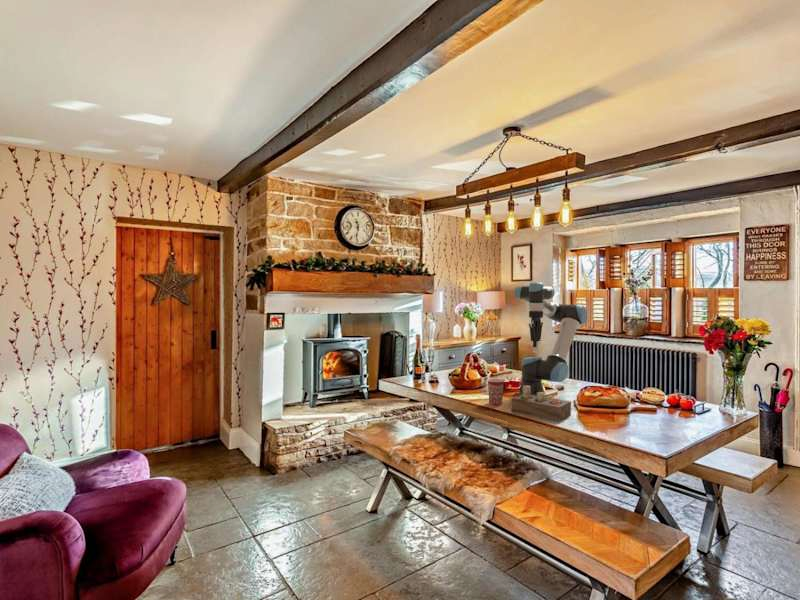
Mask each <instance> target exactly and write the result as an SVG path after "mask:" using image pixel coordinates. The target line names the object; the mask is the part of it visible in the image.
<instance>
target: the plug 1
mask: <svg viewBox="0 0 800 600" xmlns="http://www.w3.org/2000/svg"><path fill="white" fill-rule="evenodd" d="M530 393H531V386H523V398H525V399H530Z"/></svg>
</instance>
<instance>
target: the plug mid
mask: <svg viewBox="0 0 800 600" xmlns="http://www.w3.org/2000/svg"><path fill="white" fill-rule="evenodd" d="M545 397H546V393H543V392H537V401H542V402H544V401H545Z"/></svg>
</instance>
